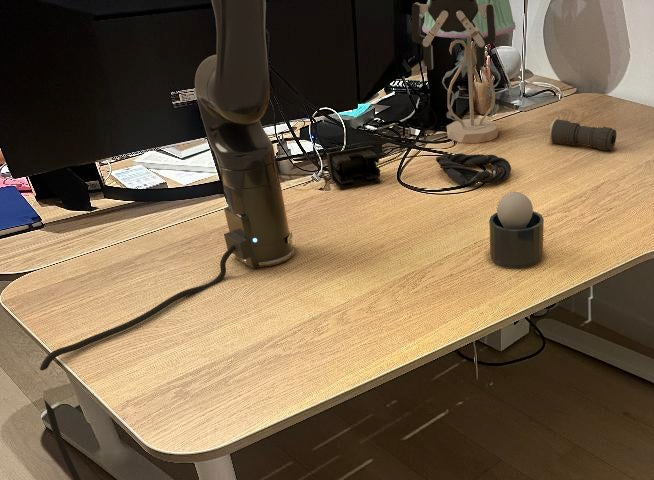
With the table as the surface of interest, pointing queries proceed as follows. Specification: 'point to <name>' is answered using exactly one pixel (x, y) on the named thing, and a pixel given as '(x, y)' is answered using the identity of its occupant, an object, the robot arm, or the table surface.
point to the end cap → (354, 167)
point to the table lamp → (467, 61)
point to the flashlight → (582, 135)
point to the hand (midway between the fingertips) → (455, 69)
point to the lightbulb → (514, 210)
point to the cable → (470, 176)
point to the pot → (516, 243)
